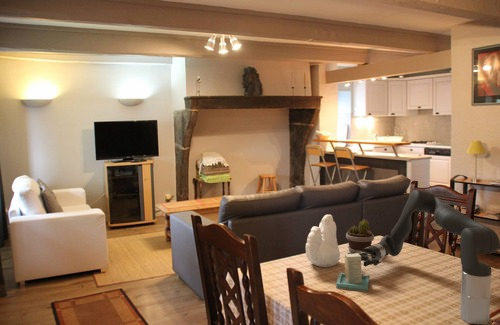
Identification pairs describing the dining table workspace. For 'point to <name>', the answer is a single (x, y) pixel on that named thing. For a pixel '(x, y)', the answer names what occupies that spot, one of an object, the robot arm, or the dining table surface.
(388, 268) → the dining table surface
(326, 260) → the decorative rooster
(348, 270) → the skincare box
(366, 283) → the teal tray
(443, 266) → the dining table surface
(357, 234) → the flowerpot
